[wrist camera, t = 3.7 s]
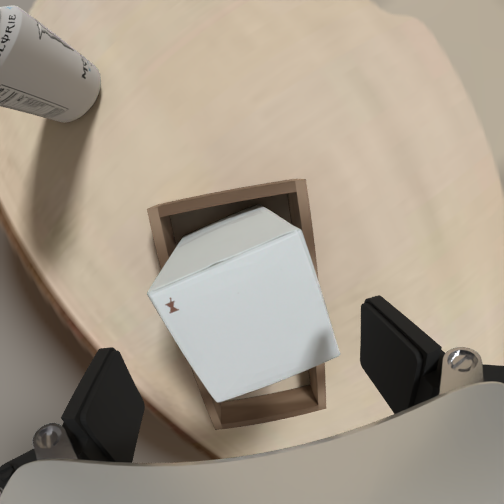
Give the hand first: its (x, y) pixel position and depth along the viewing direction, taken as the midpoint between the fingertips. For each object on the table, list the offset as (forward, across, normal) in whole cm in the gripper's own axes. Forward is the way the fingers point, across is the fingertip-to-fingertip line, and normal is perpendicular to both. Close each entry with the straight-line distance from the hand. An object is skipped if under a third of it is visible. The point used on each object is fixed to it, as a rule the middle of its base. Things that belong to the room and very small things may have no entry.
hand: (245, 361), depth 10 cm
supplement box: (+16, -1, +1) cm, 16 cm away
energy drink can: (+16, +11, -18) cm, 26 cm away
